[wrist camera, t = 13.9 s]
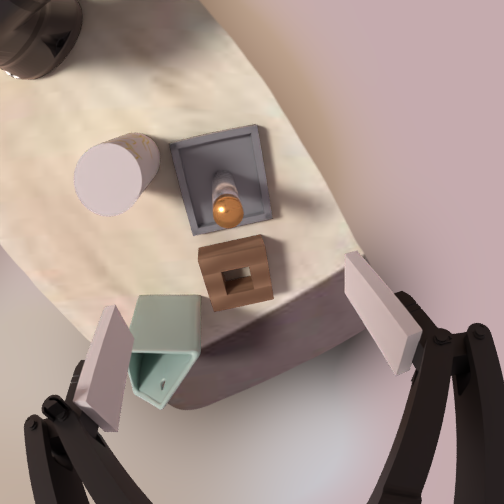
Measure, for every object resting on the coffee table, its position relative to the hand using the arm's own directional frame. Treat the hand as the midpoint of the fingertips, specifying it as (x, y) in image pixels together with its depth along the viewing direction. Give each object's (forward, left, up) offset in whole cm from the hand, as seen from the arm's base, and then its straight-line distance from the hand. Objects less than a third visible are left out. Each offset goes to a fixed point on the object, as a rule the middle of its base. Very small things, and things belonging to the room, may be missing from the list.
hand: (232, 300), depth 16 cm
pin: (+1, +1, -28) cm, 28 cm away
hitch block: (+16, 0, -29) cm, 33 cm away
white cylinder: (-5, -11, -29) cm, 32 cm away
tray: (+1, +1, -29) cm, 29 cm away
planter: (+21, -16, -29) cm, 39 cm away
